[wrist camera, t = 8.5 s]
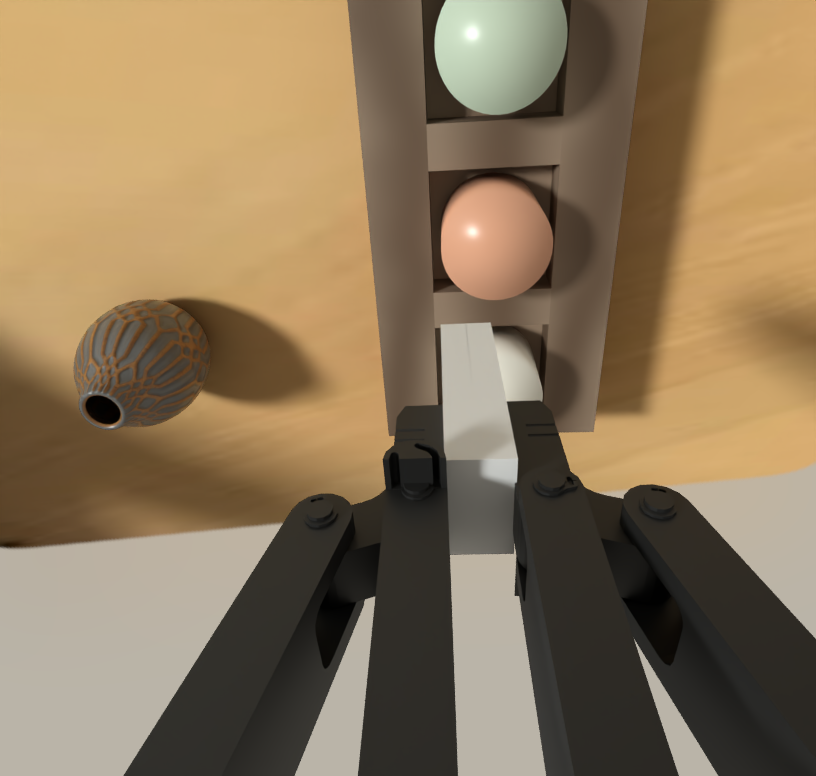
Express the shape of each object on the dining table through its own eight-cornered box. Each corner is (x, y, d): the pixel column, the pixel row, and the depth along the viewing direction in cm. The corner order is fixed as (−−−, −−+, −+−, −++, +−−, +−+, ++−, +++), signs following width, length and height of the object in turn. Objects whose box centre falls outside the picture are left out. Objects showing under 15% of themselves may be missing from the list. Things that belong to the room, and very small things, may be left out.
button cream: (446, 399, 35) (447, 438, 32) (444, 323, 33) (444, 357, 29) (530, 397, 35) (540, 436, 32) (534, 320, 32) (545, 354, 29)
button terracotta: (442, 272, 31) (442, 302, 28) (439, 175, 29) (439, 194, 25) (537, 268, 31) (549, 298, 27) (543, 169, 28) (556, 188, 25)
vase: (242, 324, 37) (191, 399, 29) (197, 399, 40) (140, 484, 32) (138, 262, 35) (55, 325, 27) (100, 345, 38) (16, 422, 31)
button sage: (437, 107, 27) (436, 118, 24) (433, -24, 25) (431, -33, 21) (546, 100, 27) (562, 110, 23) (554, -34, 24) (572, -44, 21)
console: (394, 396, 39) (389, 435, 35) (355, -54, 26) (340, -68, 23) (578, 392, 38) (593, 431, 34) (627, -76, 26) (659, -94, 22)
